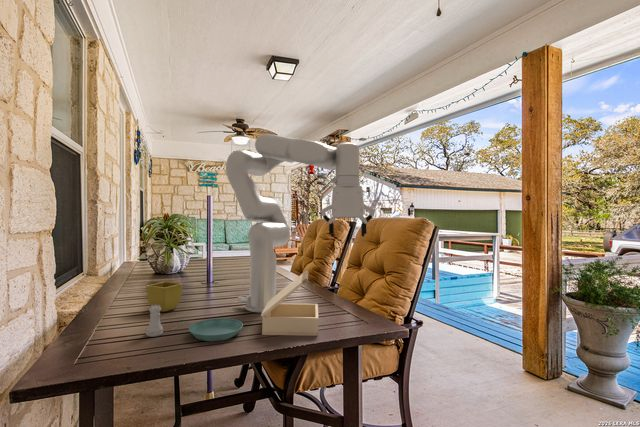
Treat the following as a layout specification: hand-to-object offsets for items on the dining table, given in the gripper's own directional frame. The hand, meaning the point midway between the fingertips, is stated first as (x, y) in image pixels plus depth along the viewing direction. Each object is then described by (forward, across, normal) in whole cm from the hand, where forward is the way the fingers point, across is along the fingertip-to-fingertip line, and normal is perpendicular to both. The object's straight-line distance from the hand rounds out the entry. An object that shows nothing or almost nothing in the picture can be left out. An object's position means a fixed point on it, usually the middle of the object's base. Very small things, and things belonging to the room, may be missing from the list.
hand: (347, 236), depth 109 cm
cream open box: (+28, -18, -3) cm, 33 cm away
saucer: (+28, -38, -12) cm, 49 cm away
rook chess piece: (+27, -55, -14) cm, 63 cm away
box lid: (+17, -19, -3) cm, 26 cm away
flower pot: (+26, -64, +11) cm, 70 cm away
